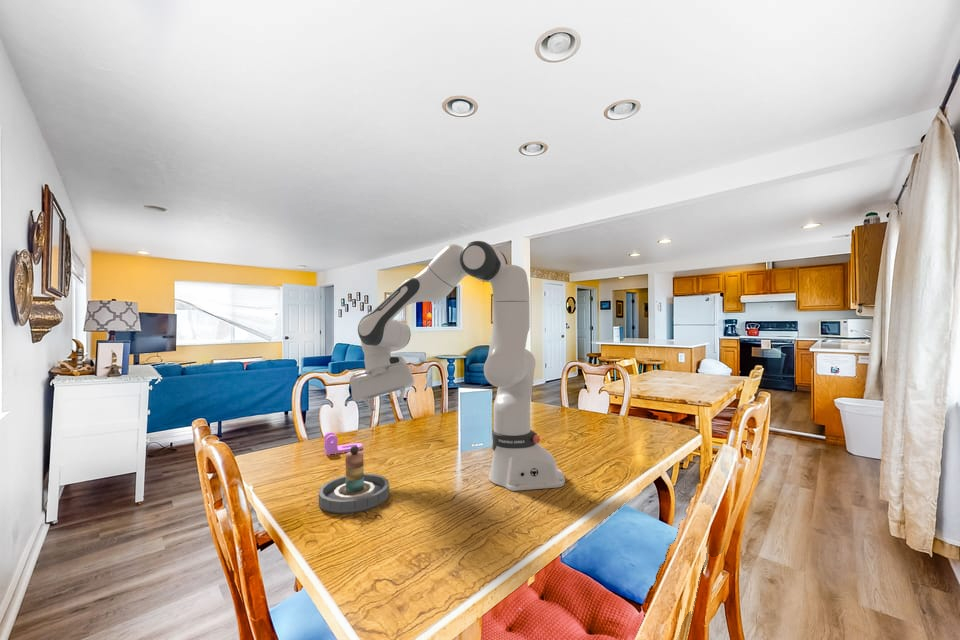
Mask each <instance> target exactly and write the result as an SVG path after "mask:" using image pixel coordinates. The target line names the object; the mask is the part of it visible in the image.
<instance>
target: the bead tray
mask: <svg viewBox="0 0 960 640" xmlns="http://www.w3.org/2000/svg"><path fill="white" fill-rule="evenodd" d="M364 486H366V492H364V493H362V494H358V495H343V490H344V489H345V488H346V475H343V476H339V477H336V478H334V479H331V480H330V481H328V482H325V483H324V484H322V486H321V487H320V488H319V490H318V506H319V508H320V509H321V510H322V511H324V512H326V513H330V514H337V515H347V514H348V515H350V514H356V513H362V512H366V511H369V510H372V509H375V508H377V507H379V506H380V505H382V504H384V503H385V502H386V501H387V499H388V498H389V496H390V482H389V480H388V479H387V478H386V477H385V476H383V475H380V474H375V473H364Z"/></svg>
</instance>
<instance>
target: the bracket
mask: <svg viewBox="0 0 960 640" xmlns="http://www.w3.org/2000/svg"><path fill="white" fill-rule="evenodd" d="M323 439H324V441H323V442H324V445H323V447H324V449H323V450H324V453H326V454H325V456H326V455H328V456H330V455H329V454H335V453H341V454H344V453H343V452H347V453H348V452H350V449H351V447H352V446H357V447H358V448H359V451H361V450H362V449H363V443H359V442H356V443H355V442H354V443H347V444H342V445H340V444H339V445H338V437H337V436H336V434H335V432H332V431H328V432H326V433H325V435H324V438H323ZM360 449H361V450H360ZM335 455H336V454H335Z"/></svg>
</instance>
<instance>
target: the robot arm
mask: <svg viewBox="0 0 960 640" xmlns="http://www.w3.org/2000/svg"><path fill="white" fill-rule="evenodd" d="M467 276H471V277H473V278H474V279H477V280H478V281H483V282H488V283H490V286H491V288H492V331H491V337H490V342H489V347H488V348H489V349H488V355H487V357H486V360H485V361H484V365H483V374H484V377H485V380H486V381H487V382H488V383H489V384H490V385H491V386H494V387H496V388H497V390H496V395H495V399H494V401H493V428H492V433H491V447H492V459H491V465H490V469H489V473H488V479H489V480H490V481H491V483H493V484H495V485H498V486H500V487H504V488H505V489H508V490H509V491H512V492H517V491H527V490H528V491H529V490H540V489H553V488H554V489H555V488H561V487H563V486H564V485H565V483H566V480H565V478H566V477H565V474H564V473H563V471H562V470H561V469H560V468H558V467H557V463H556V460H555V458H554V456H553V454H552V453H551V452H549V450H547V449H545V448H544V447H543V446H542V445H541V444H540V442H541V438H540V435H538V433H537V432H536V431H535V430H532V429H531V401H532V394H533V387H534V386H533V384H534V376H535V369H536V359H535V355H534V354H533V353H532V352H531V351H529V350H528V349H526V348H527V347H526V346H527V340H528V335H529V331H530V327H531V326H530V325H531V324H530V321H531V319H530V318H531V317H530V312H531V311H530V310H531V309H530V307H531V306H530V305H531V304H530V303H531V302H530V299H531V298H530V287H529V280H528V275H527V272H526V270H525V269H524V268H523V267H521V266H519V265H515V264H508V261H507V257H506V256H505V255H504V253H503V252H502V251H500V250H499V248H497V247H495V246H494V245H492V244H489V243H488V242H486V241H482V240H474V241H471V242H468V243H467V244H466V245H464V247H462V246H461V245H459V244H452V243H451V244H449V245H446V246H445V247H444V248H443V249H442V250H440V252H438V254H437V255H436V256H434V258H433V259H432V260H431V261H430V262H429V263H428V265H427V266H426V267H425V268H424V269H422V271H420V272H419V273H418V274H417V275H415V276H413V277H411V278H409V279H406V280H405V281H404V282H402V283H401V284H400V285H398V286H397V288H396V289H394V290H393V291H392V292H391V293H390V294H389V295H388V296H387V297H386V298H385V299H384V300H382V302H381V303H380V304H379V305H378V306H376V307H375V309H373V310H371V311H370V312H369V313H367V314H365V316H363V317H362V318H361V319H360V321H359V323H358V326H357V334H358V337H359V338H360V343H361V350H362V352H363V354H364V359H363V360H364V367H365V370H364V371H361V372H358V373H354V374H353V375H352V376H351V377H350V378H349V385H350V387H351V389H350V390H351V398H352V399H353V401H355V402H357V403H359V402H362V401H363V402H365V404H366V405H367V406H368V410H369V412H371V413H372V412H374V411H376V408H375V405H374V404H371V403H370V402H371V399H374V398H376V397H379V396H383V395H386V394H387V395H388V394H390V393H393V392H397V391H399V392H400V394H399V396H397V397H396V399H397V401H398V403H399V404H403V403H404V402H405V401H404V396H405V393H406V389H407V388H410V387H413V386H414V384H415V379H414V376H413V374H412V371H411V369H410V368H409V366H408V365H407V362H406V360H405V358H403V357H402V356H397V355H395V356H394V355H393V356H392V355H391V353H392V352H397V351H399V350H402V349H404V348H405V347H406V346H407V345H408V344H409V342H410V340H411V336H412V335H411V329H410V327H409V325H408V324H407V323H405V322H402V321H400V320H397V319H394V318H396V317H397V316H398V314H400V312H401V311H403V310H404V309H405V308H406V307H407V306H409V305H411V304H416V303H421V302H424V303H425V302H439V301H442V300H443V299H445V298H446V297H448V295H450V294H451V293H452V292H453V290H454V289H455V288H456V287H457V285H458V284H459V283H460V282H461V281H462V279H464V278H465V277H467Z"/></svg>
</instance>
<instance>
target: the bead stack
mask: <svg viewBox="0 0 960 640" xmlns="http://www.w3.org/2000/svg"><path fill="white" fill-rule="evenodd" d="M344 454H345V456H344V457H345V476H346V488H345V489H344V490H343V495H358V494H362V493H364V492H366V486H364V474H365V472H364V452H363V451H361V450H359V448H358V447H357V446H352V447H351V449H350V452H347V453H344Z"/></svg>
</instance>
